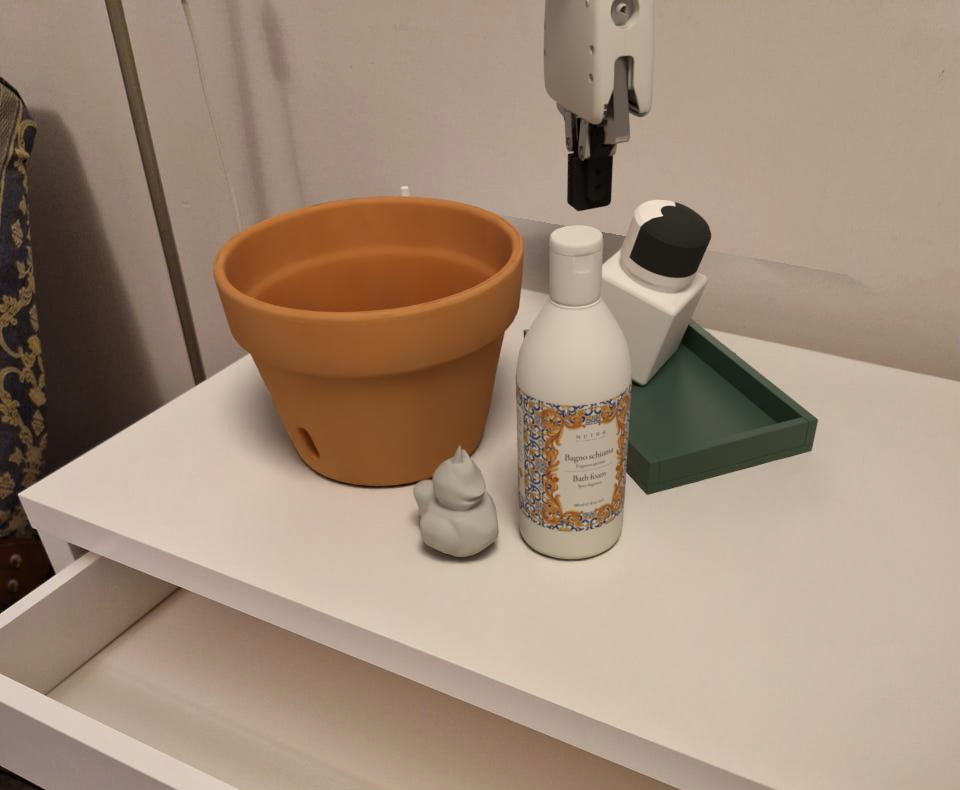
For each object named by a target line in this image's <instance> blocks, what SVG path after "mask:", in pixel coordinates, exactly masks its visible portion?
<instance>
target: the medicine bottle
mask: <svg viewBox="0 0 960 790" xmlns="http://www.w3.org/2000/svg"><path fill="white" fill-rule="evenodd" d="M624 237H625V238H624V239H623V243H622V246H621V248H620V249H619V250H618V251H617V252H615V253H614V254H613V255H612V256H611V257H609V258H608V259H607V260H606V261H605V262H604V263H602V284H601V298H602V299H603V301H604V302H605V304H606V305H607V307H608V308H609V310H610V312H611V313H612V315H613V316H614V318H615V319H616V321H617V323H618V324H619V326H620V328H621V330H622V332H623V334H624V337H625V339H626V342H627V345H628V348H629V353H630V358H631V367H632V381H634V382H636V383H637V384H639V385H641V386H643V385H646V383H647V382H648V381H649V380H650V379H651V378H652V377H653V376H654V375H655V374H656V372H657V371H658V370H659V369H660V368H661V367H662V366H663V365H664V364H665V363H666V361H667V360H668V359H669V358H670V357H671V356H672V355H673V354H674V353H675V351H676V350H677V349H678V347H679V345H680V342H681V340H682V338H683V336H684V333H685V331H686V329H687V327H688V324H689V322H690V320H691V319H693V316H694V314H695V311H696V310H697V307H698V304H699V302H700V300H701V298H702V295H703V293H704V291H705V288H706V286H707V284H708V282H709V281H708V280H709V279H708V277H707V276H706V275H704V274H703V273H700V272H699V271H698V270H699V267H700V265H701V263H702V260H703V258H704V256H705V253H706V251H707V249H708V247H709V244H710V242H711V240H712V231H711V228H710V225H709V224H708V222H707V221H706V219H705V218H704V217H703V216H702V215H700V213H698V212H696V211H695V210H694V209H692V208H690V207H689V206H687V205H685V204H683V203H679V202H677V201H673V200H666V199H651V200H647V201H645V202H643V203H641V204H639V205H637V207H636V208H635V209H634V211H633V215H632V218H631V220H630V223H629V226H628V229H627V231H626V234H625V236H624Z"/></svg>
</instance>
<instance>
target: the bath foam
mask: <svg viewBox="0 0 960 790" xmlns="http://www.w3.org/2000/svg"><path fill="white" fill-rule="evenodd" d="M548 243H549V244H548V245H549V248H548V251H549V253H548V254H549V257H548V258H549V263H548V269H549V270H548V272H549V273H548V275H549V278H548V282H549V283H548V285H549V286H548V287H549V297H548V299H547V300H546V302H545V303H544V305H543V306H542V308H541V309H540V310H539V312H538V314H537V315H536V316H535V318H534V320H533V321H532V322H531V325H530V326H529V328H528V329H529V330H528V332H527V333H526V336H525V338H524V337H523V340H522V343H521V345H520V348H519V352H518V357H517V361H516V371H515V400H516V401H515V409H516V411H515V412H516V440H517V441H516V447H517V449H516V450H517V451H516V452H517V455H516V456H517V489H518V493H517V494H518V518H519V519H518V521H519V522H518V523H519V531H520V535H521V536H522V538H523V540H524V541H525V543H526V544H528V546H529V547H531V548H532V549H533V550H535V551H537V552H539V553H540V554H542V555H545V556H547V557H551V558H555V559H562V560H580V559H581V560H582V559H587V558H592V557H595V556H597V555H600V554H602V553H604V552H606V551H607V550H609V549H610V548H611V547H613V546H614V544H616V542H617V541H618V540H619V538H620V536H621V534H622V532H623V531H622V530H623V525H624V524H623V523H624V510H625V508H624V507H625V500H626V499H625V498H626V497H625V496H626V481H627V471H626V467H627V451H628V435H629V419H630V404H631V388H632V367H631V358H630V353H629V348H628V345H627V342H626V339H625V337H624V334H623V332H622V330H621V328H620V326H619V324H618V323H617V321H616V319H615V318H614V316H613V315H612V313H611V312H610V310H609V308H608V307H607V305H606V304H605V302H604V301H603V299H602V298H601V284H602V265H603V256H604V236H603V233H602V232H601V230H599V228H596V227H593V226H589V225H583V224H582V225H581V224H573V225H566V226H562V227H559V228H556V229H554V230H553V231H552V232H551V233H550V235H549V240H548Z"/></svg>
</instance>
